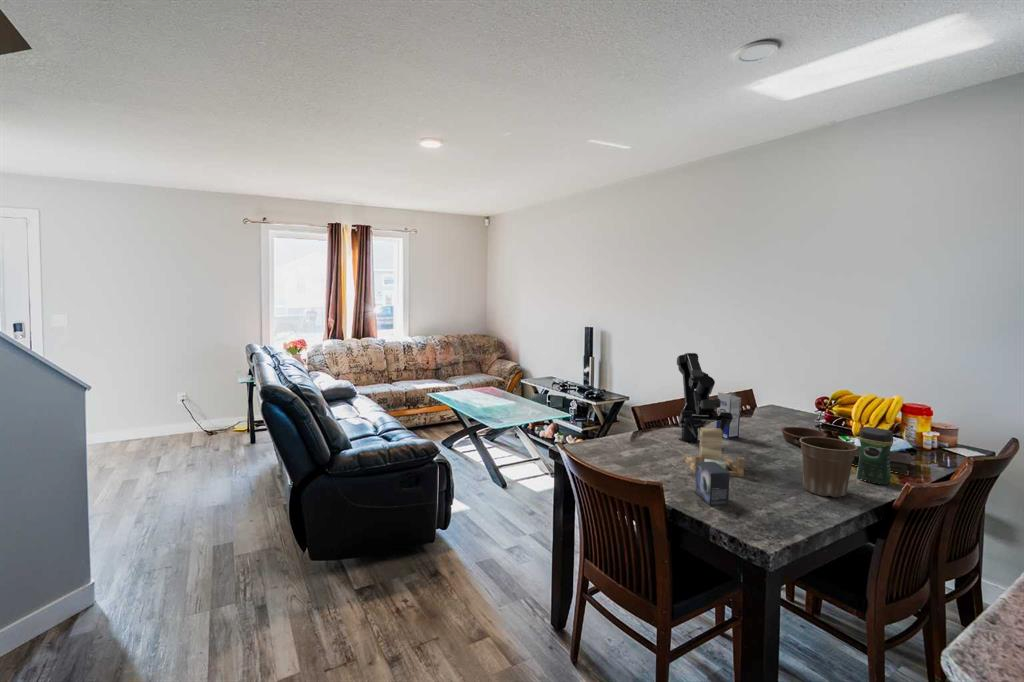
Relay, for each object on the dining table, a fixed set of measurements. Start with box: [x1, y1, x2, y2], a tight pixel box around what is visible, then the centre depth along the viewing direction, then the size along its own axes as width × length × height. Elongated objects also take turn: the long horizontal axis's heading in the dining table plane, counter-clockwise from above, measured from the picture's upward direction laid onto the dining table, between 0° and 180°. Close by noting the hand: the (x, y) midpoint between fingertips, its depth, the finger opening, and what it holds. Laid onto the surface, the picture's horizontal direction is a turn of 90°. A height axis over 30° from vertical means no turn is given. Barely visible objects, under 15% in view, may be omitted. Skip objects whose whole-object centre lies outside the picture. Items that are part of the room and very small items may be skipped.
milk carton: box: [715, 391, 742, 440], centre depth 236 cm, size 7×7×20 cm
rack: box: [684, 454, 745, 478], centre depth 192 cm, size 17×16×7 cm
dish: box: [780, 426, 827, 447], centre depth 230 cm, size 18×22×5 cm
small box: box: [695, 461, 731, 507], centre depth 165 cm, size 11×6×10 cm, turn 5°
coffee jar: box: [856, 425, 894, 485], centre depth 183 cm, size 10×8×19 cm
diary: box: [852, 445, 912, 474], centre depth 203 cm, size 19×25×5 cm
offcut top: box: [704, 459, 727, 469], centre depth 189 cm, size 4×7×2 cm, turn 71°
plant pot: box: [800, 437, 858, 498], centre depth 172 cm, size 16×16×16 cm
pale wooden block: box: [698, 427, 723, 462], centre depth 196 cm, size 4×7×14 cm, turn 84°
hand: (708, 437), depth 198 cm, fingers open, 9 cm apart
